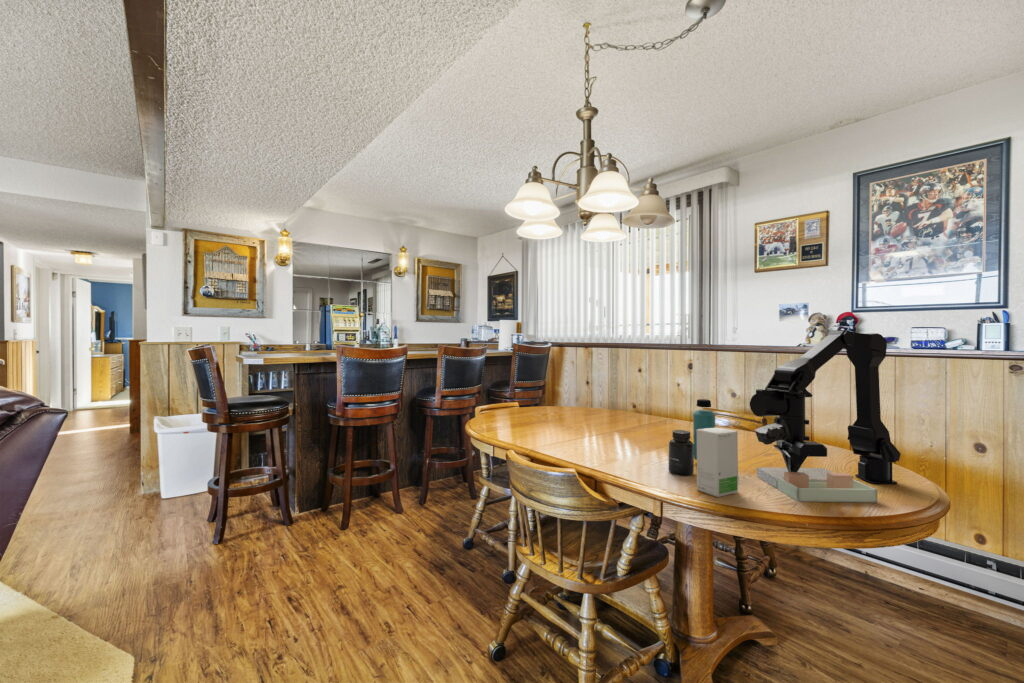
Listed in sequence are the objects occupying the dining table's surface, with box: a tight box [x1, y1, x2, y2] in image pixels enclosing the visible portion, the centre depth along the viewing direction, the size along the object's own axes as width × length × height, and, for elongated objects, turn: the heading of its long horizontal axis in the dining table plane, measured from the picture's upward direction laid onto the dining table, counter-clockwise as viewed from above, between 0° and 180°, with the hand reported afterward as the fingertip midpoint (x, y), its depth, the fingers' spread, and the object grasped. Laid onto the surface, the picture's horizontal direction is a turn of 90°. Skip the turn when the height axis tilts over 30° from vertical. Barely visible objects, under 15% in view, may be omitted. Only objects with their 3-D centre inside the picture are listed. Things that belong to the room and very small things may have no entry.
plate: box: [756, 466, 835, 489], centre depth 116 cm, size 18×10×2 cm, turn 87°
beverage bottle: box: [692, 398, 716, 461], centre depth 133 cm, size 6×7×20 cm
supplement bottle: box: [668, 429, 695, 477], centre depth 125 cm, size 7×7×12 cm
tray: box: [776, 477, 878, 504], centre depth 106 cm, size 18×9×3 cm, turn 87°
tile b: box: [784, 472, 809, 488], centre depth 107 cm, size 4×4×2 cm
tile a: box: [827, 471, 854, 489], centre depth 107 cm, size 4×4×2 cm
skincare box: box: [696, 427, 739, 498], centre depth 110 cm, size 8×7×16 cm
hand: (792, 475), depth 111 cm, fingers closed
